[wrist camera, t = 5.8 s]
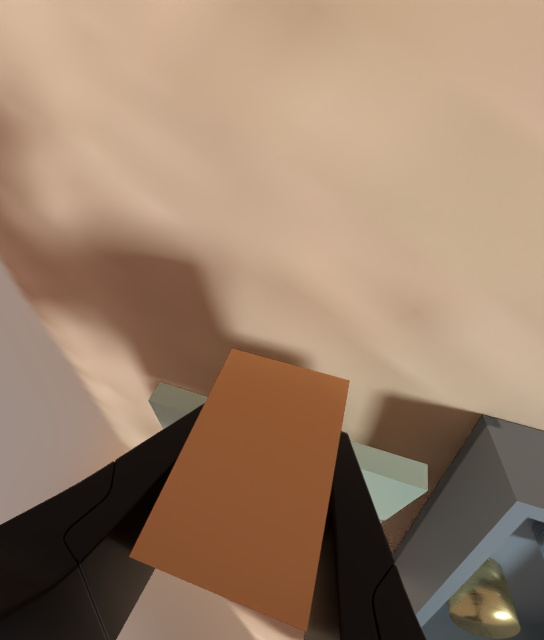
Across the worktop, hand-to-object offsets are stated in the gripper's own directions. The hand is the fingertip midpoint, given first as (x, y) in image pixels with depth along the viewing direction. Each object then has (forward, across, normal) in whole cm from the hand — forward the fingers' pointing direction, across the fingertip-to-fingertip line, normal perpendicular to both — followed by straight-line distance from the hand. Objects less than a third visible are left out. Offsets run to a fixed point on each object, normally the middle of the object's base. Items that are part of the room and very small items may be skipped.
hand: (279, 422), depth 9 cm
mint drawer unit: (+3, 0, +6) cm, 7 cm away
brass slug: (+5, -12, +12) cm, 17 cm away
